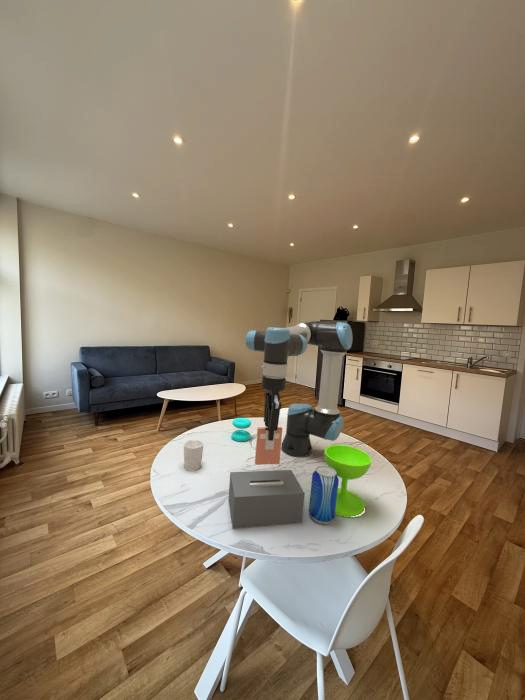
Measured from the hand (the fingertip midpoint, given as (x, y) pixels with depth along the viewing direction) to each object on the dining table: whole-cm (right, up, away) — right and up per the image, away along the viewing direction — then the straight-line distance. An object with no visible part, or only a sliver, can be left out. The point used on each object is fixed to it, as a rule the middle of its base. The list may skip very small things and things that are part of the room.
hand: (268, 447), depth 92 cm
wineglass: (+27, -23, +10) cm, 37 cm away
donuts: (-13, -16, +59) cm, 62 cm away
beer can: (+17, -23, +1) cm, 29 cm away
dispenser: (-2, -22, +2) cm, 22 cm away
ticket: (0, -5, +1) cm, 5 cm away
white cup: (-31, -17, +26) cm, 44 cm away
